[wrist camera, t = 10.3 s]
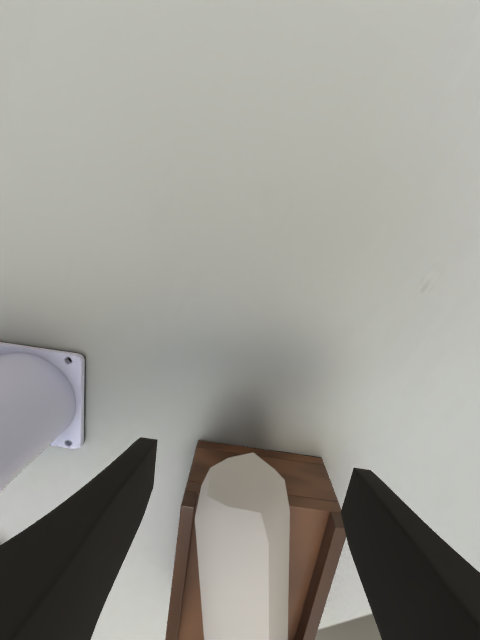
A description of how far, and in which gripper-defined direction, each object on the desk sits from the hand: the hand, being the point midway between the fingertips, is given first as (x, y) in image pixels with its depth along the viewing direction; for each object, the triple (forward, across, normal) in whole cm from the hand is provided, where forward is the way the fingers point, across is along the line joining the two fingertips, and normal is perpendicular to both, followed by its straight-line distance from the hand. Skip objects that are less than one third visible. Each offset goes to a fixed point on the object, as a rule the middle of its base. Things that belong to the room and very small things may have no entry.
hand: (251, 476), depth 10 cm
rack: (+10, -2, +15) cm, 18 cm away
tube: (+6, -2, +15) cm, 16 cm away
